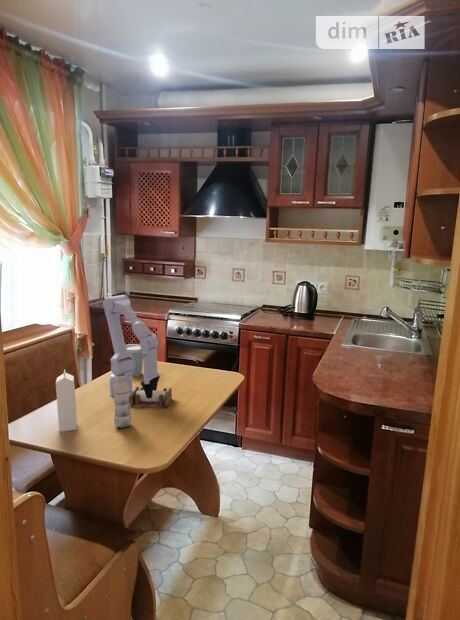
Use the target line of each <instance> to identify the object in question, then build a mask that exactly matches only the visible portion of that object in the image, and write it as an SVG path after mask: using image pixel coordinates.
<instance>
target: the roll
mask: <svg viewBox="0 0 460 620" xmlns="http://www.w3.org/2000/svg"><path fill="white" fill-rule="evenodd" d="M136 394H139V402H159V395H163V403H165V395H166V391H163V390H156V391H153V393H152V398H146V395H145V391H144V390H140V389H139V390H137V391H136Z"/></svg>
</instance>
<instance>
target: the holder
mask: <svg viewBox="0 0 460 620" xmlns="http://www.w3.org/2000/svg"><path fill="white" fill-rule="evenodd" d="M140 387H141V388H140ZM134 389H135V390H134V391H133V393H132V394H131V395H130V397H129V403H130V408H152V409H153V408H156V409H167V408H168V407H169V405H170V404H171V401H172V395H173V394H172V392H173V391H172V390H173V389H172V387H169V389H168V390H167V388H166V387H164V388H163V390H162V391H166V395H165V403H163V395H159V402H139V394H136V391H137V390H144V389H143V387H142V386H136V388H134Z"/></svg>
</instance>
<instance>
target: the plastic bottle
mask: <svg viewBox="0 0 460 620" xmlns="http://www.w3.org/2000/svg"><path fill="white" fill-rule="evenodd" d="M116 381H117V382H116V383H115V385H114V386H113V394H114V396H113V398H114V417H113V418H114V419H113V421H114V425H115V426H116V427H117V428H120V429H123V428H128V427H129V426H130V425H132V420H133V418H132V413H131V405H130V386H129V384H128V383H127V382H126V374H117V375H116Z"/></svg>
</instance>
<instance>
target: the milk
mask: <svg viewBox="0 0 460 620" xmlns="http://www.w3.org/2000/svg"><path fill="white" fill-rule="evenodd" d="M75 386H76V385H75V376H74V375H72V374H70V373H68V372H66V369H64V371H63V373H62V374H61V375H59V376H58V377H56V380H55V391H56V404H57V405H56V406H57V408H56V409H57V417H58V418H57V419H58V420H57V422H58V432H59V433H61V432H70V431H76V430H77V429H78V428H77V427H78V426H77V425H78V419H77V404H76V400H77V399H76V387H75Z"/></svg>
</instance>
